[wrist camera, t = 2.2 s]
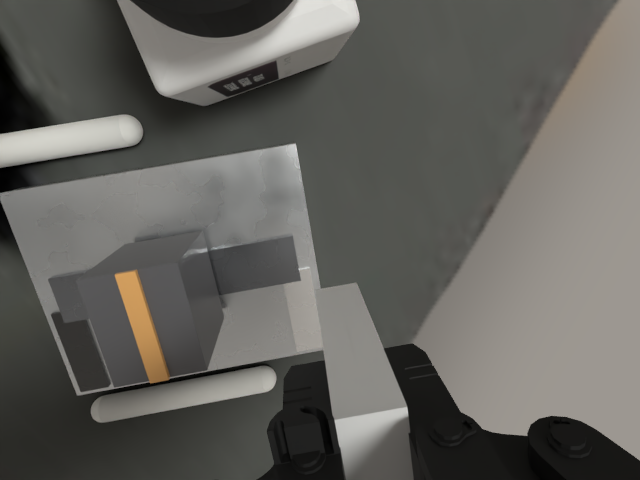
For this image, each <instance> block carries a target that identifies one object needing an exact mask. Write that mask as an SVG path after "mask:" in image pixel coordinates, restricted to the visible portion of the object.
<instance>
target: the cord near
mask: <svg viewBox="0 0 640 480" xmlns="http://www.w3.org/2000/svg"><path fill="white" fill-rule="evenodd" d="M142 137H143V128H142V125H141V123H140V122H139V121H138V120H137V119H136V118H134V117H133V116H130V115H125V114H124V115H116V116H110V117H104V118H97V119H91V120H85V121H79V122H73V123H67V124H61V125H54V126H48V127H42V128H36V129H30V130H24V131H17V132H11V133H5V134H0V168H3V167H9V166H15V165H21V164H27V163H33V162H39V161H45V160H51V159H57V158H63V157H69V156H75V155H81V154H87V153H93V152H99V151H105V150H111V149H117V148H124V147H130V146H134V145H136V144H138V143H139V142H140V140H141V139H142Z"/></svg>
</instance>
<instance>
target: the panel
mask: <svg viewBox="0 0 640 480" xmlns="http://www.w3.org/2000/svg"><path fill="white" fill-rule="evenodd" d="M0 200H1V203H2V205H3V208H4V210H5V213H6V216H7V218H8V221H9V223H10V226H11V228H12V231H13V233H14V236H15V238H16V241H17V244H18V246H19V249H20V251H21V254H22V256H23V259H24V261H25V264H26V267H27V269H28V272H29V274H30V277H31V279H32V282H33V284H34V287H35V289H36V292H37V295H38V297H39V300H40V302H41V305H42V307H43V310H44V312H45V315H46V317H47V320H48V323H49V325H50V328H51V330H52V333H53V335H54V338H55V340H56V343H57V346H58V348H59V351H60V353H61V356H62V358H63V361H64V363H65V366H66V368H67V371H68V374H69V376H70V379H71V381H72V384H73V386H74V389H75V391H76V394H77V396H78V395H84V394H89V393H94V392H100V391H105V390H111V389H116V388H121V387H127V386H132V385H137V384H143V383H148V382H149V381H147V382H142V383H137V384H131V385H126V386H121V387H115V388H114V386H113V383H112V380H111V377H110V375H109V372H108V369H107V366H106V363H105V361H104V358H103V355H102V352H101V350H100V347H99V344H98V341H97V338H96V336H95V333H94V330H93V327H92V324H91V322H90V319H89V316H88V313H87V311H86V308H85V305H84V302H83V299H82V297H81V294H80V291H79V288H78V285H77V283H76V280H77V279H78V278H79V277H81V276H82V275H83V274H85V273H86V272H88V271H89V270H90V269H92V268H93V267H94V266H96V265H97V264H98V263H100V262H101V261H103V260H104V259H105V258H107V257H108V256H109V255H111V254H112V253H114V252H115V251H116V250H118V249H119V248H120V247H122V246H123V245H124V244H129V243H135V242H140V241H146V240H152V239H158V238H163V237H169V236H175V235H181V234H186V233H192V232H198V231H203V234H204V238H205V242H206V246H207V250H208V254H209V258H210V262H211V266H212V270H213V274H214V278H215V282H216V286H217V290H218V294H219V298H220V302H221V306H222V310H223V314H224V320H223V323H222V326H221V329H220V332H219V336H218V339H217V342H216V345H215V348H214V351H213V354H212V357H211V360H210V363H209V367H208V370H207V371H213V370H218V369H223V368H229V367H234V366H239V365H245V364H250V363H256V362H261V361H266V360H272V359H277V358H282V357H288V356H293V355H298V354H304V353H309V352H315V351H320V350H323V343H322V336H321V328H320V321H319V314H318V307H317V299H316V292H315V290H317V289H321V288H320V282H319V276H318V270H317V264H316V259H315V253H314V247H313V241H312V235H311V229H310V224H309V218H308V212H307V206H306V200H305V194H304V189H303V183H302V177H301V171H300V165H299V160H298V154H297V148H296V143H295V142H293V143H287V144H281V145H275V146H269V147H263V148H257V149H251V150H245V151H239V152H233V153H227V154H221V155H215V156H209V157H203V158H197V159H191V160H185V161H180V162H174V163H168V164H162V165H156V166H150V167H144V168H138V169H132V170H126V171H120V172H114V173H108V174H102V175H96V176H90V177H84V178H78V179H72V180H66V181H60V182H54V183H48V184H42V185H36V186H30V187H24V188H20V189H15V190H11V191H7V192H2V193H0ZM207 371H201V372H196V373H202V372H207ZM196 373H190V374H185V375H180V376H186V375H191V374H196ZM180 376H174V377H170V378H175V377H180Z"/></svg>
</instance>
